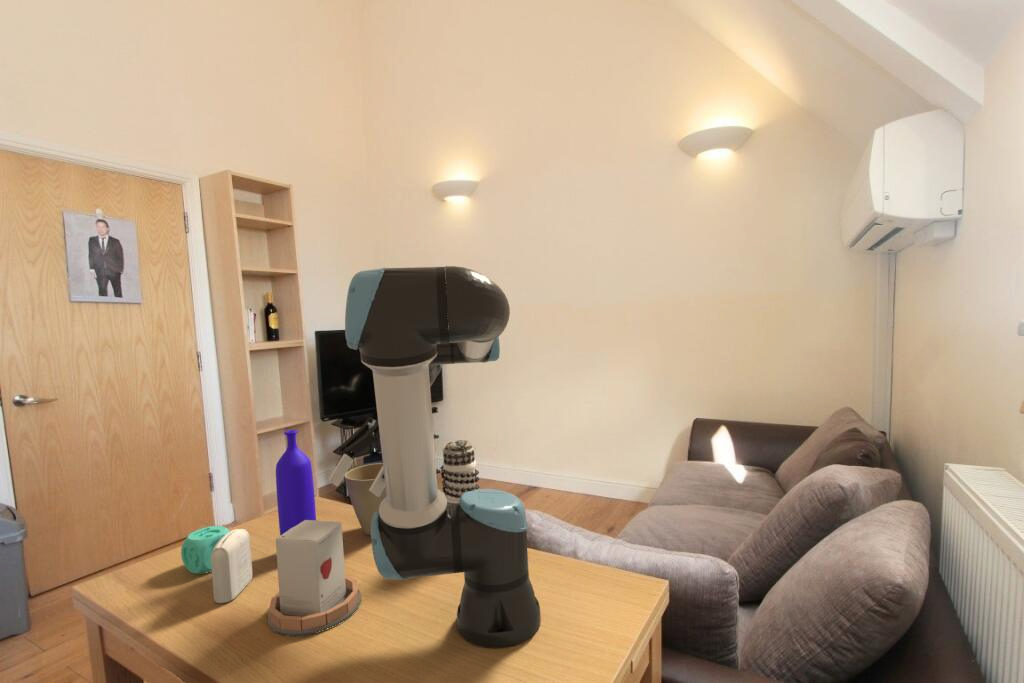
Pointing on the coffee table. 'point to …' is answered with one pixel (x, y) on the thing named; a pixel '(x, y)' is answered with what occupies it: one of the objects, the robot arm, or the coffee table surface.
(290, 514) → the bottle
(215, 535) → the mint green rounded piece
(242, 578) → the photo printer
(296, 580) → the supplement box
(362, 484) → the plant pot
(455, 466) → the decorative candle
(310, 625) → the ringed saucer
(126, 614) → the coffee table surface
